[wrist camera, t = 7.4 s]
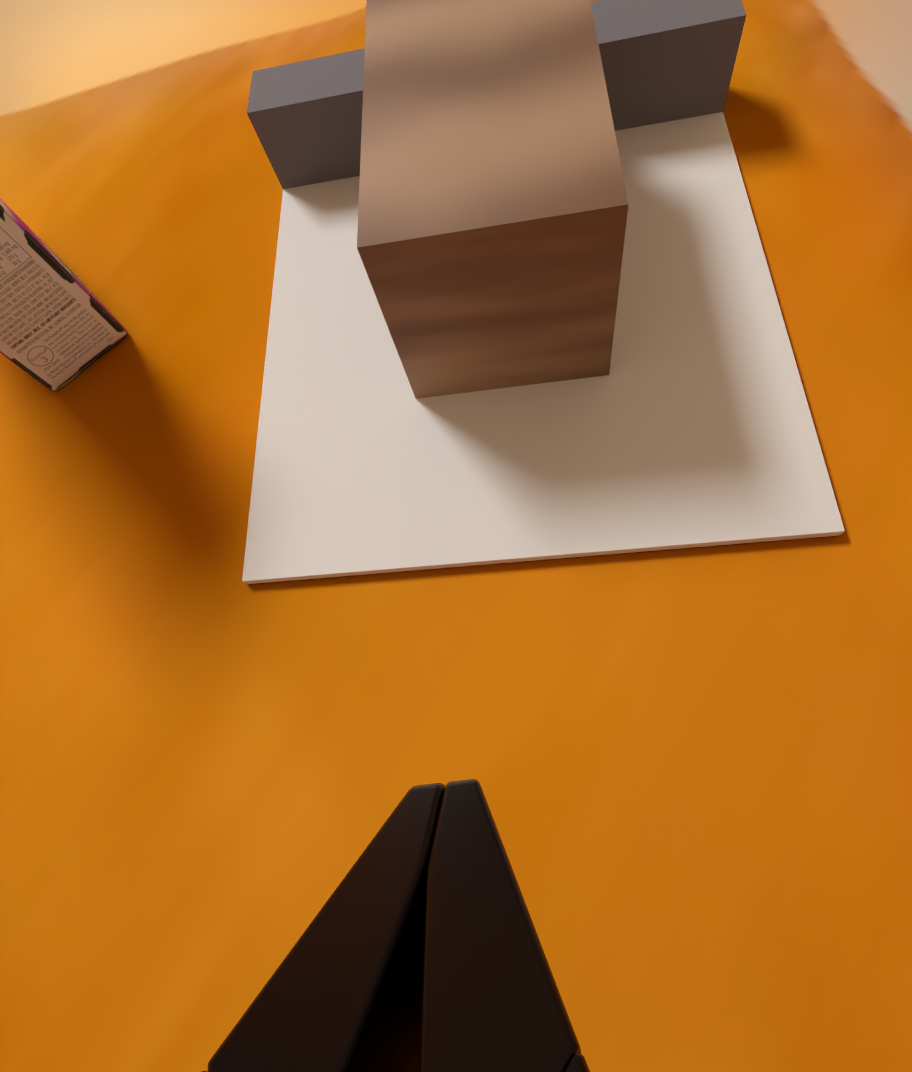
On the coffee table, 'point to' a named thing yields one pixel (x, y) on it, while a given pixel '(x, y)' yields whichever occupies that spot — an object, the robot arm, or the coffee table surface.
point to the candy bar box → (47, 309)
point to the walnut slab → (490, 191)
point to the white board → (547, 408)
